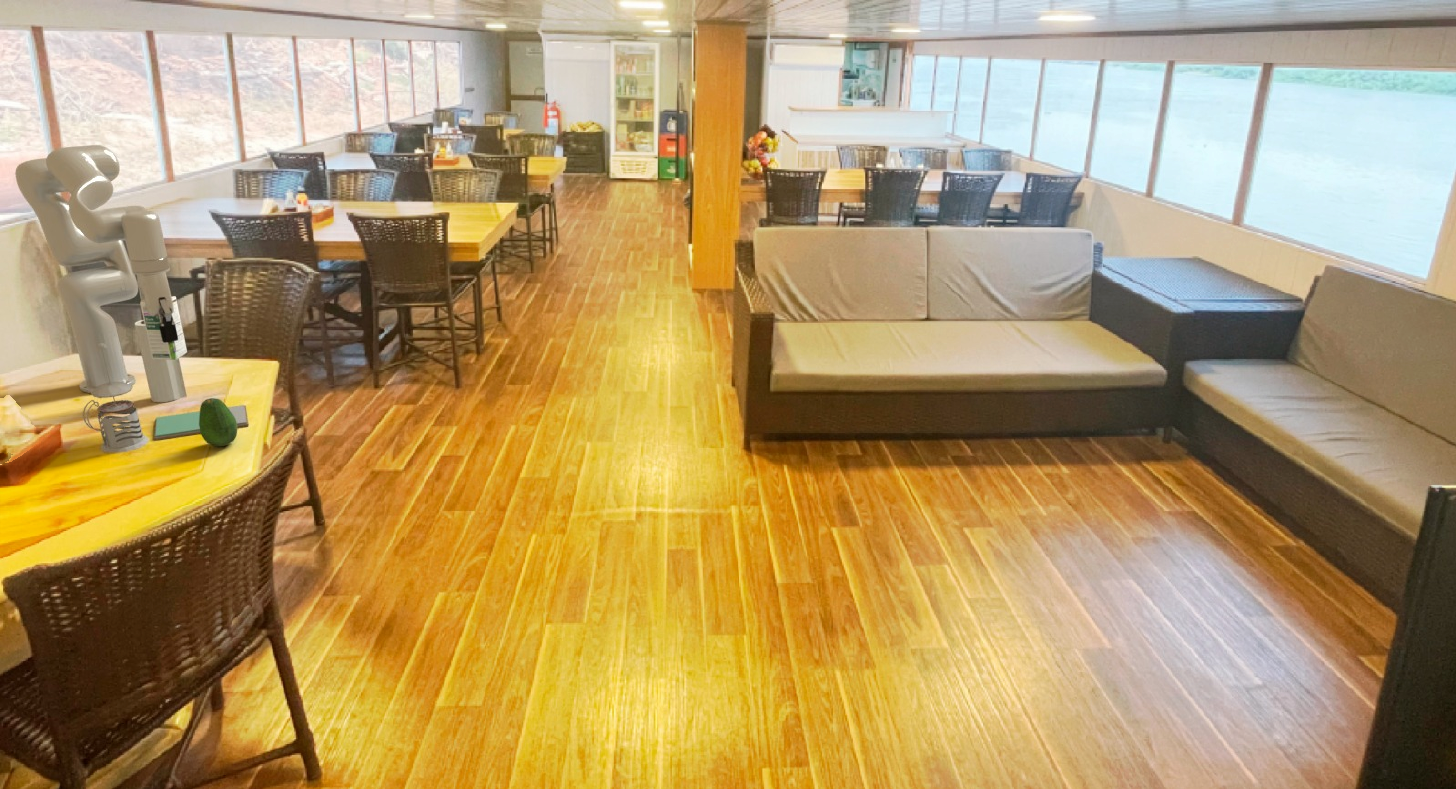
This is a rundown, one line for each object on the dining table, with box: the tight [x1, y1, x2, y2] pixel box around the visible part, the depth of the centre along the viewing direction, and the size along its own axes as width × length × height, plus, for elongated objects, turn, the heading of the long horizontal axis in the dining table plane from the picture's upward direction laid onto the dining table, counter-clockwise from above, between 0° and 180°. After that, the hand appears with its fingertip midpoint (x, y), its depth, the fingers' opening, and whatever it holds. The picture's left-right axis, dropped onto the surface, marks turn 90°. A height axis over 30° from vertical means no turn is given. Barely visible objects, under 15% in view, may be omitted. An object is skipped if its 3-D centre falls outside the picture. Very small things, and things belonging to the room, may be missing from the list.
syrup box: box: [139, 295, 188, 360], centre depth 216 cm, size 6×6×14 cm
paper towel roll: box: [134, 319, 188, 403], centre depth 234 cm, size 7×6×21 cm
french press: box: [82, 343, 150, 454], centre depth 208 cm, size 10×12×25 cm
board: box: [153, 404, 249, 441], centre depth 225 cm, size 13×20×1 cm, turn 119°
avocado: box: [199, 397, 239, 447], centre depth 212 cm, size 8×8×12 cm
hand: (165, 336), depth 217 cm, fingers closed on syrup box, 8 cm apart
